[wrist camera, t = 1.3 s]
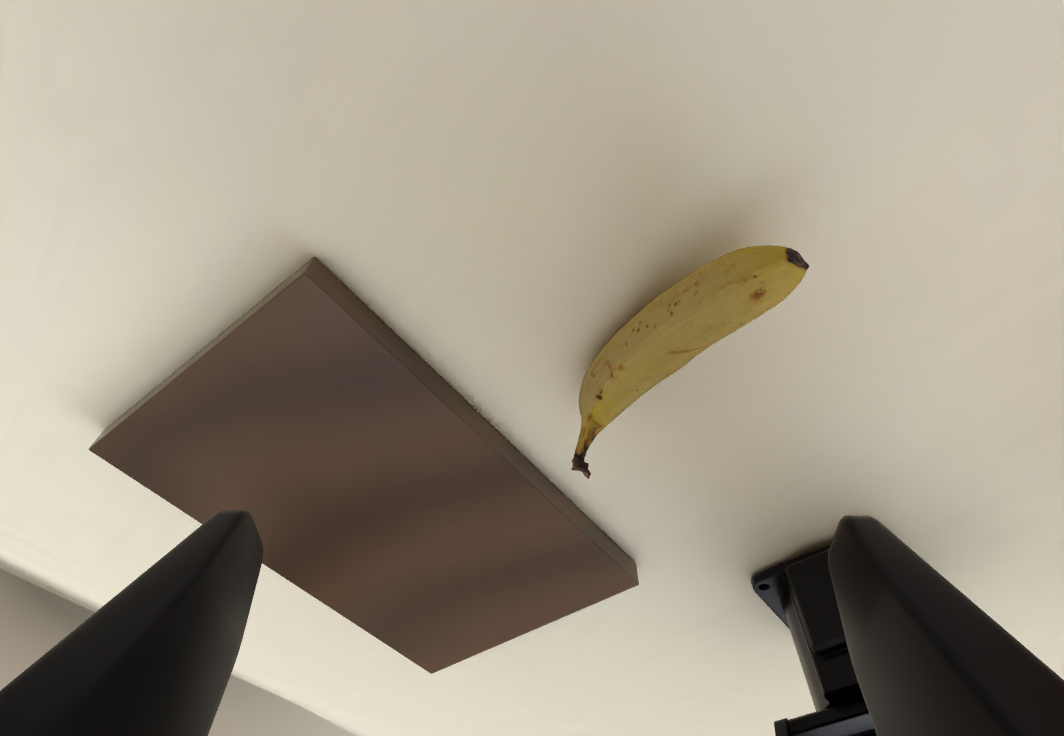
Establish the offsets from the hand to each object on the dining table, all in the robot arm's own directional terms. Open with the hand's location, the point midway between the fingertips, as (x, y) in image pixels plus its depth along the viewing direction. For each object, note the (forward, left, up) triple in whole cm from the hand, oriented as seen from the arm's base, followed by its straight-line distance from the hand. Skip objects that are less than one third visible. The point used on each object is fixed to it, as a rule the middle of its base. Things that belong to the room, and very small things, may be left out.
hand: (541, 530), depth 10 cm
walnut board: (-7, +14, -13) cm, 21 cm away
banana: (-6, -1, -14) cm, 15 cm away
